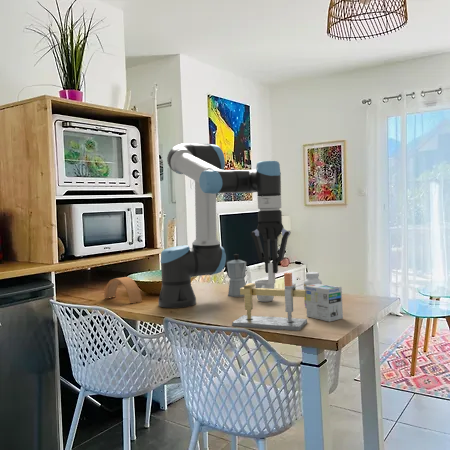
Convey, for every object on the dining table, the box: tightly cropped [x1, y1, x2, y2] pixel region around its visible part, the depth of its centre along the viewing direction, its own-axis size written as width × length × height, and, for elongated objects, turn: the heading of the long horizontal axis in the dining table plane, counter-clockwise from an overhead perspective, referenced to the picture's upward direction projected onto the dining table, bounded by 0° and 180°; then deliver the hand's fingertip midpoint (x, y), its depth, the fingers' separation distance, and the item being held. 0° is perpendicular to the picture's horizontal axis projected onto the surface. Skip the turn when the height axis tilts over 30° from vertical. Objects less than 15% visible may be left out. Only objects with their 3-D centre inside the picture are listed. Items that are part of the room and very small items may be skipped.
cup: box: [254, 279, 276, 303], centre depth 184 cm, size 11×8×8 cm
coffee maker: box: [224, 253, 247, 298], centre depth 201 cm, size 15×9×18 cm, turn 35°
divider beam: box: [240, 282, 307, 319], centre depth 149 cm, size 22×5×11 cm, turn 66°
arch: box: [103, 276, 143, 304], centre depth 199 cm, size 6×20×10 cm, turn 47°
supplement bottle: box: [303, 271, 323, 308], centre depth 170 cm, size 7×7×13 cm
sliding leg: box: [283, 272, 297, 321], centre depth 147 cm, size 2×6×15 cm, turn 157°
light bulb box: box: [305, 283, 344, 322], centre depth 154 cm, size 11×7×11 cm, turn 35°
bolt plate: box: [231, 314, 308, 331], centre depth 148 cm, size 22×10×1 cm, turn 66°
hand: (272, 283), depth 147 cm, fingers closed
